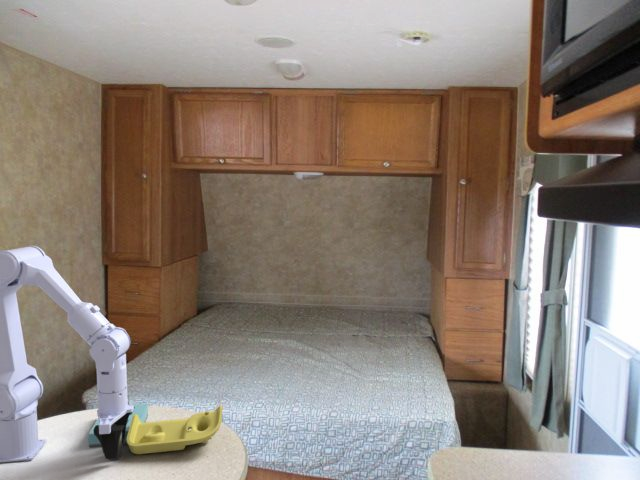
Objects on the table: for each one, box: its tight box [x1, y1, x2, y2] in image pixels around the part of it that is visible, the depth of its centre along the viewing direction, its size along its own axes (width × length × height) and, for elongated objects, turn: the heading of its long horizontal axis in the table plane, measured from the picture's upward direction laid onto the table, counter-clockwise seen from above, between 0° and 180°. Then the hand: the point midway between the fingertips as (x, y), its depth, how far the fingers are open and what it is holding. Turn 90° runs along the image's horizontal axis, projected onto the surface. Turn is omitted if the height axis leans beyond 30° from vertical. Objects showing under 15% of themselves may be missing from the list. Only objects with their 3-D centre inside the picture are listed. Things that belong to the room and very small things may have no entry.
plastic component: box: [127, 404, 224, 455], centre depth 110 cm, size 20×7×10 cm
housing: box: [88, 403, 149, 448], centre depth 116 cm, size 10×14×3 cm
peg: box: [107, 433, 124, 462], centre depth 105 cm, size 3×3×6 cm
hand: (114, 450), depth 105 cm, fingers open, 5 cm apart
